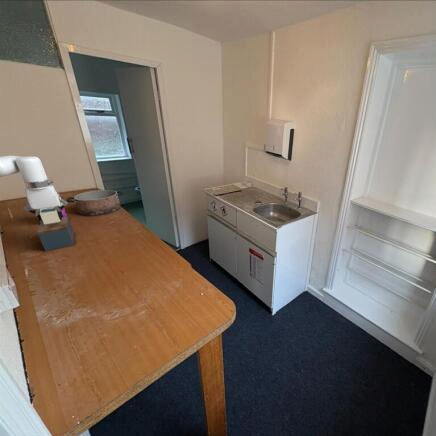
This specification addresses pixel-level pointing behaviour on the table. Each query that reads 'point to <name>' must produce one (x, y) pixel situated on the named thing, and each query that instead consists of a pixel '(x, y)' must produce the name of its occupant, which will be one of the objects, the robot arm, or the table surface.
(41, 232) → the grey box shape
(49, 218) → the cube
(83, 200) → the cooking pot
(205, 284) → the table surface
